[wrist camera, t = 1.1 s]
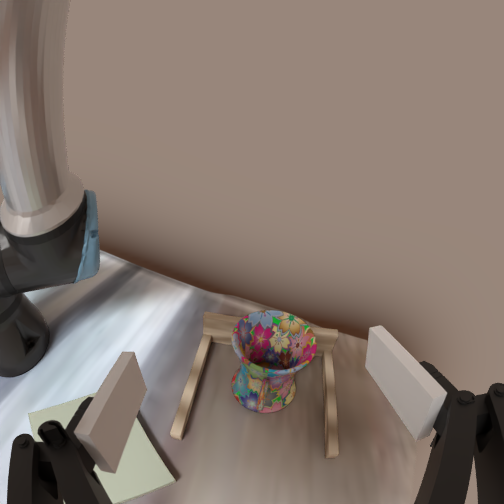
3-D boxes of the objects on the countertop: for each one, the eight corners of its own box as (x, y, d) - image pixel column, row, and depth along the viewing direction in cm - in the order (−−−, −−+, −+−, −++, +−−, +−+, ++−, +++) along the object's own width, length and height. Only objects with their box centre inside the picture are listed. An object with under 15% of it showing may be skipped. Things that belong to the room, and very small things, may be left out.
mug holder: (334, 458, 26) (349, 443, 23) (171, 437, 27) (165, 421, 24) (328, 351, 41) (337, 329, 39) (205, 334, 42) (205, 311, 40)
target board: (31, 417, 23) (28, 413, 22) (121, 387, 31) (119, 383, 31) (66, 517, 13) (62, 516, 13) (176, 481, 22) (175, 480, 21)
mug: (237, 357, 39) (242, 303, 34) (299, 369, 38) (318, 317, 33) (214, 427, 29) (213, 382, 24) (290, 442, 28) (313, 401, 22)
